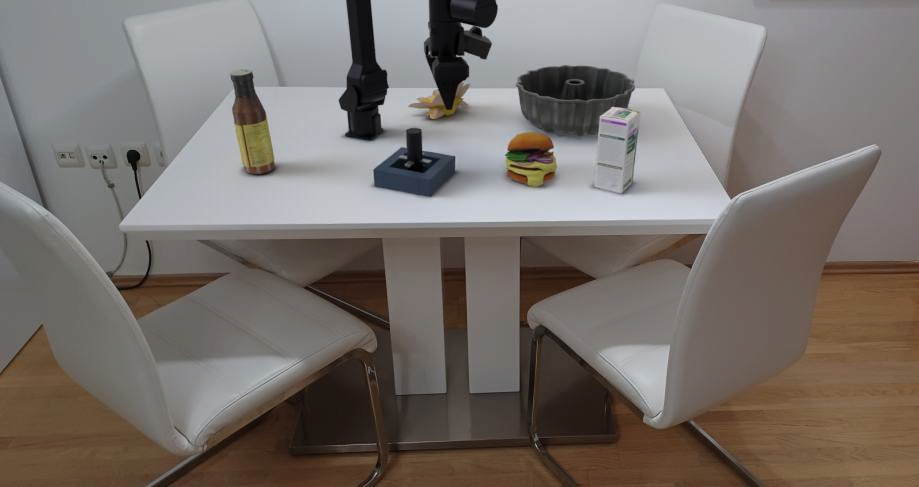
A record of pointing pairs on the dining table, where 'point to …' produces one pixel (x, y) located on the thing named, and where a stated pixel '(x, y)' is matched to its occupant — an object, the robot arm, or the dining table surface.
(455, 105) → the decorative flower
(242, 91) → the sauce bottle
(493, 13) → the robot arm
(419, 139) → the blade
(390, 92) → the dining table surface
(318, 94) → the dining table surface
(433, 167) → the blue square frame
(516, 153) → the cheeseburger
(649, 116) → the dining table surface
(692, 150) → the dining table surface
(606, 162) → the syrup box
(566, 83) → the bundt pan
